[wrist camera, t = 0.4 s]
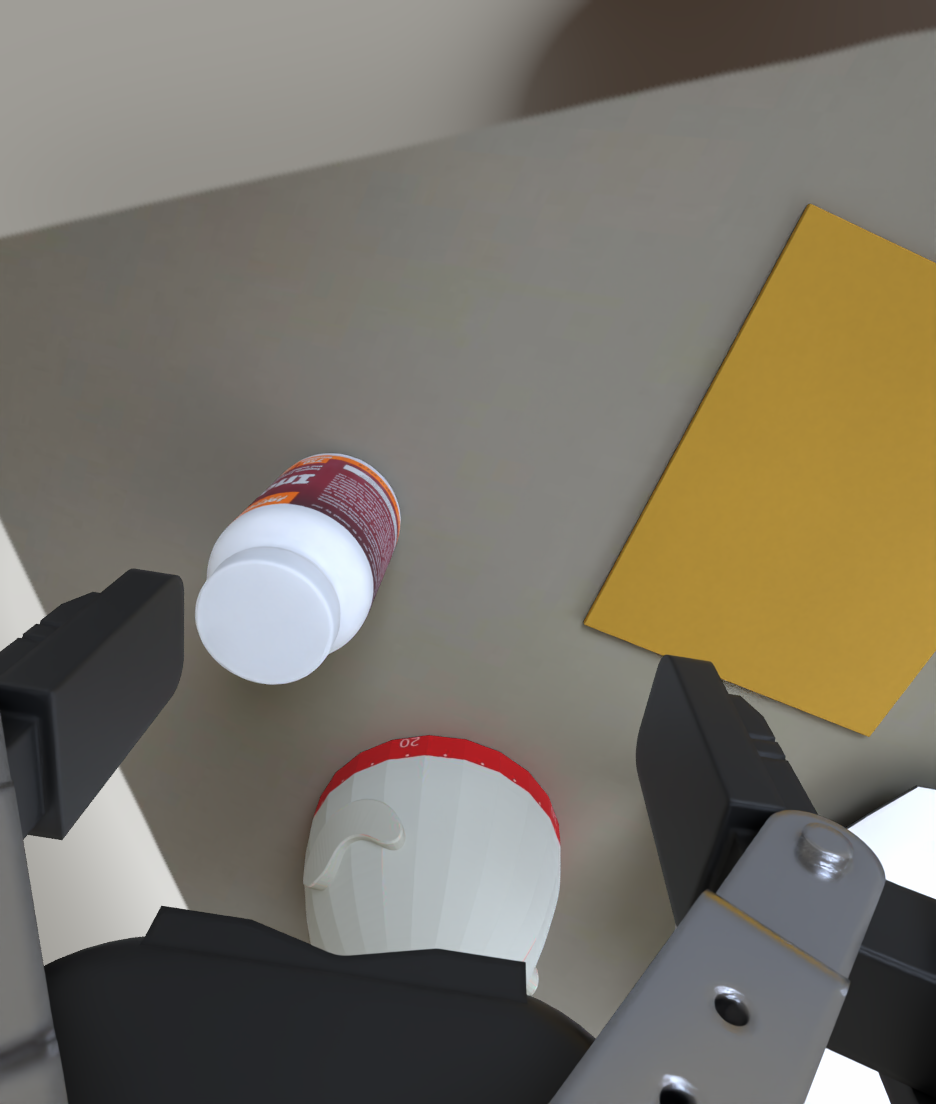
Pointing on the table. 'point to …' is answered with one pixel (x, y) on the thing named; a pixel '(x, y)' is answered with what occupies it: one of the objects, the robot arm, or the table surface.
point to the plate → (912, 862)
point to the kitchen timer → (433, 854)
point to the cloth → (803, 491)
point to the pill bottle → (298, 569)
